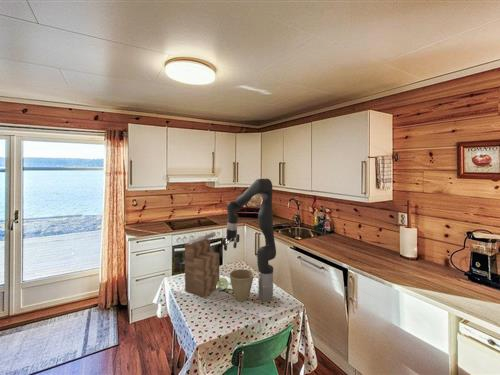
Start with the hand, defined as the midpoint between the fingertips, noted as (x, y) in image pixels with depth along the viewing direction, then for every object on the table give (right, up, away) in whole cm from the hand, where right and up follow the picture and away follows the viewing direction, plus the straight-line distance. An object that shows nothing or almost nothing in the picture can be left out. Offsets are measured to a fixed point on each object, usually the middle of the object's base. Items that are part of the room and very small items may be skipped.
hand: (230, 249), depth 180 cm
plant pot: (+9, -25, -26) cm, 37 cm away
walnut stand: (-17, -23, -14) cm, 33 cm away
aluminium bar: (-18, +9, -11) cm, 23 cm away
